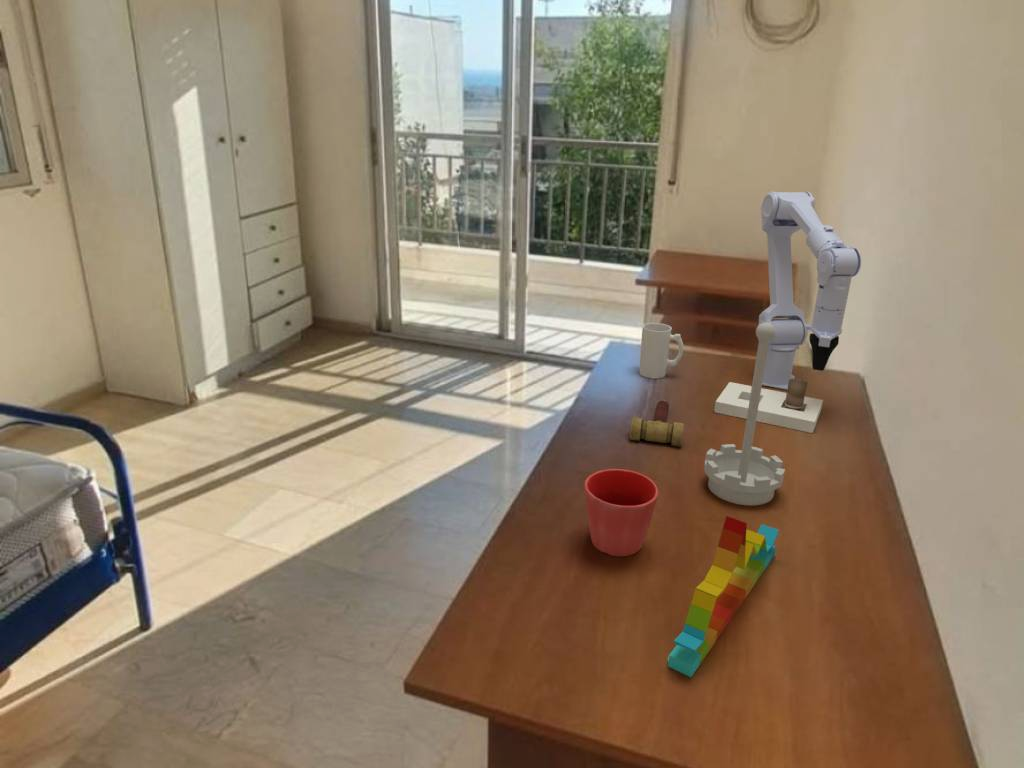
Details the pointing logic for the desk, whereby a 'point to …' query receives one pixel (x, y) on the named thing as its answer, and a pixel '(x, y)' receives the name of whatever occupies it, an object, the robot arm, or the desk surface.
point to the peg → (795, 394)
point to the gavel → (657, 428)
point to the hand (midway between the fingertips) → (818, 369)
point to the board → (769, 407)
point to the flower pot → (619, 510)
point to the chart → (722, 591)
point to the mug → (657, 350)
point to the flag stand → (747, 450)
